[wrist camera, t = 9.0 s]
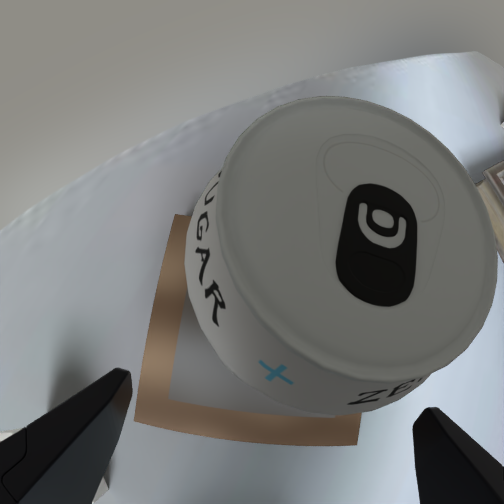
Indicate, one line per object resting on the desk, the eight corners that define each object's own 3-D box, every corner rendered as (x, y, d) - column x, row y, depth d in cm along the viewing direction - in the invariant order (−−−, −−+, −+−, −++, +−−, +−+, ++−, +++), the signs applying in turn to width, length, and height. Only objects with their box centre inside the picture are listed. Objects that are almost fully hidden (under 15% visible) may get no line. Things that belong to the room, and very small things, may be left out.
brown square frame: (343, 438, 19) (360, 446, 16) (143, 415, 18) (131, 422, 15) (356, 257, 24) (372, 242, 21) (179, 229, 23) (174, 210, 21)
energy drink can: (323, 302, 19) (496, 148, 5) (298, 395, 17) (501, 436, 3) (231, 274, 19) (248, 49, 5) (200, 367, 17) (95, 350, 3)
